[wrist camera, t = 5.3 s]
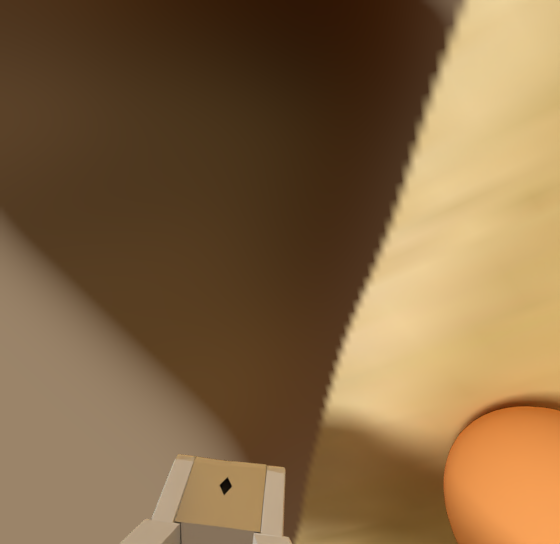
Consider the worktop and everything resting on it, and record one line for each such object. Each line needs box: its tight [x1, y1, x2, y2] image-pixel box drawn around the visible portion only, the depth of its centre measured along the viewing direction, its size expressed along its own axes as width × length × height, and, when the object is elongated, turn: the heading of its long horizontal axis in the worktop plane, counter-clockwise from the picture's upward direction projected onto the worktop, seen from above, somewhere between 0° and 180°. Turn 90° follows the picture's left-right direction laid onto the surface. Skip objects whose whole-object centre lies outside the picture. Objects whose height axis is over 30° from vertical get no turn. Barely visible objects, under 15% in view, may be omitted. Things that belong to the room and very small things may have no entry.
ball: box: [443, 406, 560, 544], centre depth 10 cm, size 6×6×6 cm
